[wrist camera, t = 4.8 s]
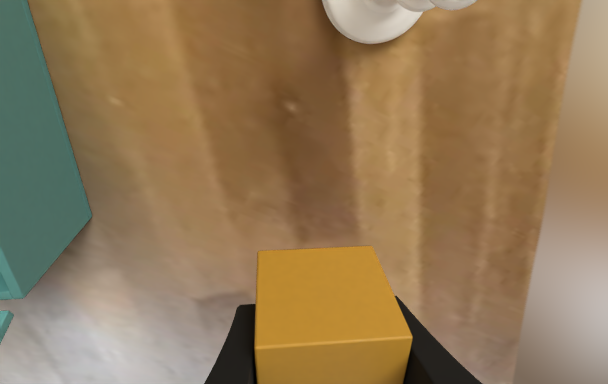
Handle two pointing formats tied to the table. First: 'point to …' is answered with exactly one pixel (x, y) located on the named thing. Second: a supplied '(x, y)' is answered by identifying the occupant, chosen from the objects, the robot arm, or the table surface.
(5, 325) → the flap
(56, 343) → the table surface
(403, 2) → the chess piece
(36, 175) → the teal box
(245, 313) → the robot arm
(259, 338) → the cube
